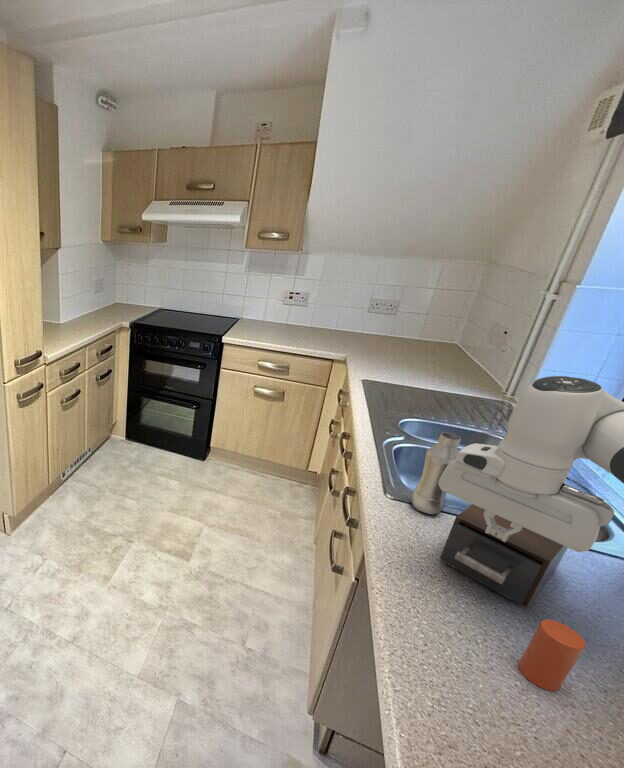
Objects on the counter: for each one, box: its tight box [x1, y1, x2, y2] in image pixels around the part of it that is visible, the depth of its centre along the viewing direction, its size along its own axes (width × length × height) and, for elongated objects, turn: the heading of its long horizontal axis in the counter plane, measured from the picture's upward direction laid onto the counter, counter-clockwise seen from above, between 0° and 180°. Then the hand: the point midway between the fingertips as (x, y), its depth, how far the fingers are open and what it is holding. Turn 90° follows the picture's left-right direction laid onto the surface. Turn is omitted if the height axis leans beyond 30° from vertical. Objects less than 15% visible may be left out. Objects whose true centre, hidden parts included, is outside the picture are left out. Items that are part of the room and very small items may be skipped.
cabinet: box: [439, 504, 569, 608], centre depth 82 cm, size 17×14×11 cm
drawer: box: [440, 523, 542, 606], centre depth 79 cm, size 20×12×9 cm, turn 122°
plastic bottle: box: [410, 432, 461, 515], centre depth 96 cm, size 6×7×20 cm
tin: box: [517, 619, 587, 692], centre depth 61 cm, size 5×5×9 cm
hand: (496, 536), depth 74 cm, fingers closed
